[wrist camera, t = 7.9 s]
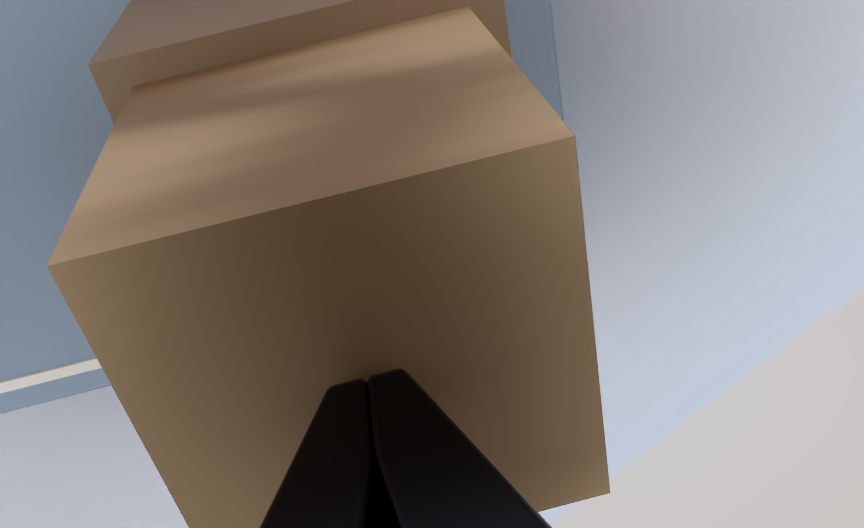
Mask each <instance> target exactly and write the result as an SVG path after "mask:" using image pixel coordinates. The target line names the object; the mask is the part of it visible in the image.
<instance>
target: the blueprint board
mask: <svg viewBox="0 0 864 528" xmlns="http://www.w3.org/2000/svg"><path fill="white" fill-rule="evenodd" d="M467 6H469V8H470V9H471V10H472V11H473V12H474V14H475V15H476V16H477V17H478V18H479V20H480V21H481V22H482V23H483V25H484V26H485V27H486V28H487V29H488V31H489V32H490V33H491V34H492V35H493V37H494V38H495V39H496V40H497V42H498V43H499V44H500V45H501V46H502V48H503V49H504V50H505V51H506V52H507V54H508V55H509V56H510V57H511V59H512V60H513V61H514V62H515V63H516V65H517V66H518V67H519V68H520V69H521V71H522V72H523V73H524V74H525V76H526V77H527V78H528V79H529V80H530V82H531V83H532V84H533V85H534V86H535V88H536V89H537V90H538V91H539V93H540V94H541V95H542V96H543V97H544V99H545V100H546V101H547V102H548V103H549V105H550V106H551V107H552V108H553V109H554V111H555V112H556V113H557V114H558V116H559V117H560V118H561V119H562V120H563V114H562V105H561V95H560V86H559V77H558V68H557V59H556V50H555V41H554V32H553V22H552V13H551V4H550V0H0V413H4V412H8V411H12V410H16V409H20V408H24V407H28V406H31V405H35V404H39V403H43V402H47V401H51V400H55V399H59V398H63V397H67V396H71V395H75V394H78V393H82V392H86V391H90V390H94V389H98V388H102V387H106V386H110V385H111V383H110V382H109V380H108V378H107V376H106V374H105V372H104V371H103V369H102V367H101V365H100V363H99V361H98V360H97V358H96V356H95V354H94V352H93V350H92V349H91V347H90V345H89V343H88V341H87V339H86V338H85V336H84V334H83V332H82V330H81V328H80V327H79V325H78V323H77V321H76V319H75V317H74V316H73V314H72V312H71V310H70V308H69V306H68V305H67V303H66V301H65V299H64V297H63V295H62V294H61V292H60V290H59V288H58V286H57V284H56V283H55V281H54V279H53V277H52V275H51V273H50V272H49V270H48V268H47V264H48V262H49V260H50V258H51V255H52V253H53V251H54V249H55V247H56V245H57V243H58V241H59V239H60V237H61V235H62V233H63V230H64V228H65V226H66V224H67V222H68V220H69V218H70V216H71V214H72V212H73V210H74V208H75V205H76V203H77V201H78V199H79V197H80V195H81V193H82V191H83V189H84V187H85V185H86V183H87V180H88V178H89V176H90V174H91V172H92V170H93V168H94V166H95V164H96V162H97V160H98V158H99V155H100V153H101V151H102V149H103V147H104V145H105V143H106V141H107V139H108V137H109V135H110V133H111V130H112V128H113V126H114V124H115V122H116V120H117V118H118V116H119V114H120V112H121V110H122V108H123V105H124V103H125V101H126V99H127V97H128V95H129V93H130V91H131V89H132V87H133V86H137V85H141V84H145V83H149V82H154V81H158V80H162V79H166V78H170V77H175V76H179V75H183V74H187V73H191V72H195V71H200V70H204V69H208V68H212V67H216V66H220V65H225V64H229V63H233V62H237V61H241V60H246V59H250V58H254V57H258V56H262V55H266V54H271V53H275V52H279V51H283V50H287V49H292V48H296V47H300V46H304V45H308V44H312V43H317V42H321V41H325V40H329V39H333V38H337V37H342V36H346V35H350V34H354V33H358V32H363V31H367V30H371V29H375V28H379V27H383V26H388V25H392V24H396V23H400V22H404V21H409V20H413V19H417V18H421V17H425V16H429V15H434V14H438V13H442V12H446V11H450V10H455V9H459V8H463V7H467Z"/></svg>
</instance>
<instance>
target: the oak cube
mask: <svg viewBox="0 0 864 528" xmlns="http://www.w3.org/2000/svg"><path fill="white" fill-rule="evenodd" d="M47 268H48V270H49V272H50V273H51V275H52V277H53V279H54V281H55V283H56V284H57V286H58V288H59V290H60V292H61V294H62V295H63V297H64V299H65V301H66V303H67V305H68V306H69V308H70V310H71V312H72V314H73V316H74V317H75V319H76V321H77V323H78V325H79V327H80V328H81V330H82V332H83V334H84V336H85V338H86V339H87V341H88V343H89V345H90V347H91V349H92V350H93V352H94V354H95V356H96V358H97V360H98V361H99V363H100V365H101V367H102V369H103V371H104V372H105V374H106V376H107V378H108V380H109V382H110V383H111V385H112V387H113V389H114V391H115V393H116V394H117V396H118V398H119V400H120V402H121V404H122V405H123V407H124V409H125V411H126V413H127V415H128V416H129V418H130V420H131V422H132V424H133V426H134V427H135V429H136V431H137V433H138V435H139V437H140V438H141V440H142V442H143V444H144V446H145V448H146V449H147V451H148V453H149V455H150V457H151V459H152V460H153V462H154V464H155V466H156V468H157V470H158V471H159V473H160V475H161V477H162V479H163V481H164V482H165V484H166V486H167V488H168V490H169V492H170V493H171V495H172V497H173V499H174V501H175V503H176V504H177V506H178V508H179V510H180V512H181V514H182V515H183V517H184V519H185V521H186V523H187V525H188V526H189V528H260V526H261V523H262V521H263V519H264V517H265V515H266V513H267V511H268V509H269V507H270V505H271V503H272V501H273V499H274V497H275V495H276V493H277V491H278V489H279V487H280V485H281V483H282V480H283V478H284V476H285V474H286V472H287V470H288V468H289V466H290V464H291V462H292V460H293V458H294V456H295V454H296V452H297V450H298V448H299V446H300V444H301V442H302V439H303V437H304V435H305V433H306V431H307V429H308V427H309V425H310V423H311V421H312V419H313V417H314V415H315V413H316V411H317V409H318V407H319V405H320V403H321V401H322V398H323V396H324V394H325V392H326V391H327V389H328V388H329V387H331V386H333V385H337V384H341V383H345V382H348V381H352V380H356V379H364V380H365V381H366V382H368V379H369V377H370V376H372V375H375V374H379V373H383V372H387V371H391V370H395V369H404V370H405V371H407V372H408V373H409V374H410V375H411V376H412V377H413V379H414V380H415V381H416V382H417V383H418V384H419V385H420V386H421V387H422V388H423V389H424V390H425V391H426V393H427V394H428V395H429V396H430V397H431V398H432V399H433V400H434V401H435V402H436V403H437V404H438V406H439V407H440V408H441V409H442V410H443V411H444V412H445V413H446V414H447V415H448V416H449V417H450V418H451V420H452V421H453V422H454V423H455V424H456V425H457V426H458V427H459V428H460V429H461V430H462V431H463V432H464V434H465V435H466V436H467V437H468V438H469V439H470V440H471V441H472V442H473V443H474V444H475V445H476V447H477V448H478V449H479V450H480V451H481V452H482V453H483V454H484V455H485V456H486V457H487V458H488V459H489V461H490V462H491V463H492V464H493V465H494V466H495V467H496V468H497V469H498V470H499V471H500V472H501V473H502V475H503V476H504V477H505V478H506V479H507V480H508V481H509V482H510V483H511V484H512V485H513V486H514V487H515V489H516V490H517V491H518V492H519V493H520V494H521V495H522V496H523V497H524V498H525V499H526V500H527V502H528V503H529V504H530V505H531V506H532V507H533V508H534V509H535V510H536V511H537V512H539V511H543V510H547V509H551V508H554V507H558V506H562V505H566V504H570V503H573V502H577V501H581V500H585V499H589V498H592V497H596V496H600V495H604V494H607V493H610V487H609V476H608V466H607V456H606V446H605V436H604V425H603V415H602V405H601V395H600V385H599V375H598V364H597V354H596V344H595V334H594V324H593V314H592V303H591V293H590V283H589V273H588V263H587V252H586V242H585V232H584V222H583V212H582V202H581V191H580V181H579V171H578V161H577V151H576V141H575V135H574V134H573V133H572V131H571V130H570V129H569V128H568V126H567V125H566V124H565V123H564V122H563V120H562V119H561V118H560V117H559V116H558V114H557V113H556V112H555V111H554V109H553V108H552V107H551V106H550V105H549V103H548V102H547V101H546V100H545V99H544V97H543V96H542V95H541V94H540V93H539V91H538V90H537V89H536V88H535V86H534V85H533V84H532V83H531V82H530V80H529V79H528V78H527V77H526V76H525V74H524V73H523V72H522V71H521V69H520V68H519V67H518V66H517V65H516V63H515V62H514V61H513V60H512V59H511V57H510V56H509V55H508V54H507V52H506V51H505V50H504V49H503V48H502V46H501V45H500V44H499V43H498V42H497V40H496V39H495V38H494V37H493V35H492V34H491V33H490V32H489V31H488V29H487V28H486V27H485V26H484V25H483V23H482V22H481V21H480V20H479V18H478V17H477V16H476V15H475V14H474V12H473V11H472V10H471V9H470V8H469V6H467V7H463V8H459V9H455V10H450V11H446V12H442V13H438V14H434V15H429V16H425V17H421V18H417V19H413V20H409V21H404V22H400V23H396V24H392V25H388V26H383V27H379V28H375V29H371V30H367V31H363V32H358V33H354V34H350V35H346V36H342V37H337V38H333V39H329V40H325V41H321V42H317V43H312V44H308V45H304V46H300V47H296V48H292V49H287V50H283V51H279V52H275V53H271V54H266V55H262V56H258V57H254V58H250V59H246V60H241V61H237V62H233V63H229V64H225V65H220V66H216V67H212V68H208V69H204V70H200V71H195V72H191V73H187V74H183V75H179V76H175V77H170V78H166V79H162V80H158V81H154V82H149V83H145V84H141V85H137V86H133V87H132V89H131V91H130V93H129V95H128V97H127V99H126V101H125V103H124V105H123V108H122V110H121V112H120V114H119V116H118V118H117V120H116V122H115V124H114V126H113V128H112V130H111V133H110V135H109V137H108V139H107V141H106V143H105V145H104V147H103V149H102V151H101V153H100V155H99V158H98V160H97V162H96V164H95V166H94V168H93V170H92V172H91V174H90V176H89V178H88V180H87V183H86V185H85V187H84V189H83V191H82V193H81V195H80V197H79V199H78V201H77V203H76V205H75V208H74V210H73V212H72V214H71V216H70V218H69V220H68V222H67V224H66V226H65V228H64V230H63V233H62V235H61V237H60V239H59V241H58V243H57V245H56V247H55V249H54V251H53V253H52V255H51V258H50V260H49V262H48V264H47Z"/></svg>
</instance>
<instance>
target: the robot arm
mask: <svg viewBox="0 0 864 528" xmlns="http://www.w3.org/2000/svg"><path fill="white" fill-rule="evenodd" d="M260 528H552V527H551V526H550V525H549V524H548V523H547V522H546V521H545V520H544V519H543V518H542V517H541V516H540V514H539V513H538V512H537V511H536V510H535V509H534V508H533V507H532V506H531V505H530V504H529V503H528V502H527V500H526V499H525V498H524V497H523V496H522V495H521V494H520V493H519V492H518V491H517V490H516V489H515V487H514V486H513V485H512V484H511V483H510V482H509V481H508V480H507V479H506V478H505V477H504V476H503V475H502V473H501V472H500V471H499V470H498V469H497V468H496V467H495V466H494V465H493V464H492V463H491V462H490V461H489V459H488V458H487V457H486V456H485V455H484V454H483V453H482V452H481V451H480V450H479V449H478V448H477V447H476V445H475V444H474V443H473V442H472V441H471V440H470V439H469V438H468V437H467V436H466V435H465V434H464V432H463V431H462V430H461V429H460V428H459V427H458V426H457V425H456V424H455V423H454V422H453V421H452V420H451V418H450V417H449V416H448V415H447V414H446V413H445V412H444V411H443V410H442V409H441V408H440V407H439V406H438V404H437V403H436V402H435V401H434V400H433V399H432V398H431V397H430V396H429V395H428V394H427V393H426V391H425V390H424V389H423V388H422V387H421V386H420V385H419V384H418V383H417V382H416V381H415V380H414V379H413V377H412V376H411V375H410V374H409V373H408V372H407V371H405V370H404V369H395V370H391V371H387V372H383V373H379V374H375V375H372V376H370V377H369V379H368V382H366V381H365V380H364V379H356V380H352V381H348V382H345V383H341V384H337V385H333V386H331V387H329V388H328V389H327V391H326V392H325V394H324V396H323V398H322V401H321V403H320V405H319V407H318V409H317V411H316V413H315V415H314V417H313V419H312V421H311V423H310V425H309V427H308V429H307V431H306V433H305V435H304V437H303V439H302V442H301V444H300V446H299V448H298V450H297V452H296V454H295V456H294V458H293V460H292V462H291V464H290V466H289V468H288V470H287V472H286V474H285V476H284V478H283V480H282V483H281V485H280V487H279V489H278V491H277V493H276V495H275V497H274V499H273V501H272V503H271V505H270V507H269V509H268V511H267V513H266V515H265V517H264V519H263V521H262V523H261V526H260Z"/></svg>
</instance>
